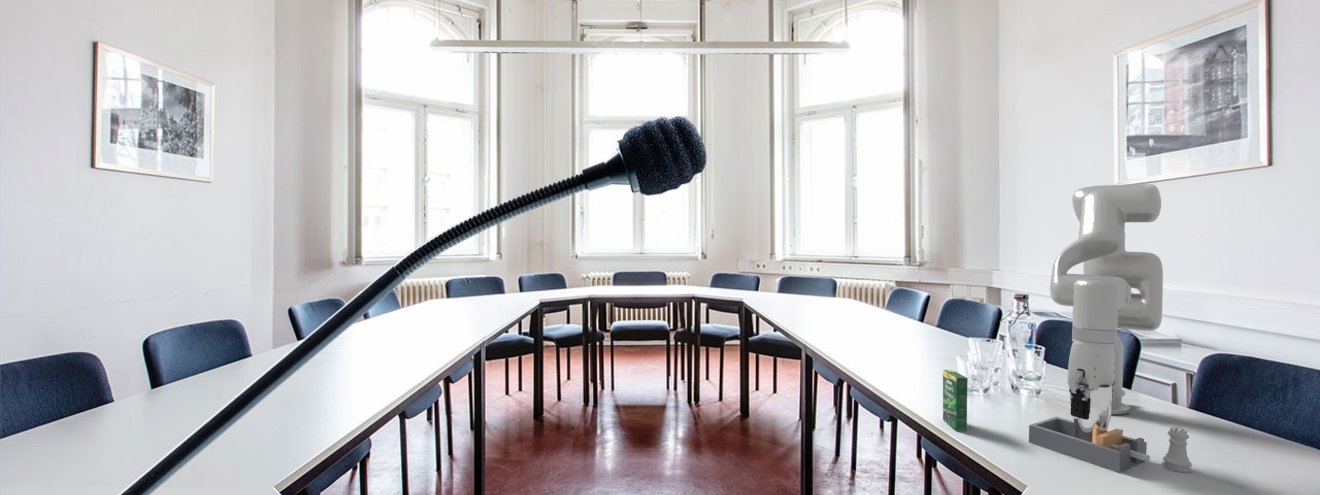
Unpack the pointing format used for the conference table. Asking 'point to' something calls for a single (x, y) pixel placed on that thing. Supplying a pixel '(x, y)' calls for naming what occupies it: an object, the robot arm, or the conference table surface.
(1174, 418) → the conference table surface
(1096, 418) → the beer glass
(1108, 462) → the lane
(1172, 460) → the rook chess piece
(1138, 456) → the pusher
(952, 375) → the coffee box
